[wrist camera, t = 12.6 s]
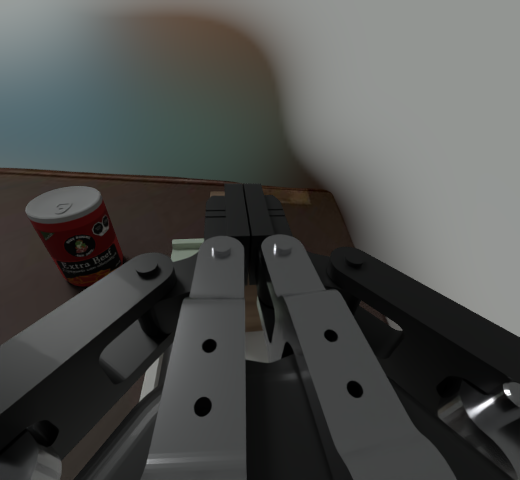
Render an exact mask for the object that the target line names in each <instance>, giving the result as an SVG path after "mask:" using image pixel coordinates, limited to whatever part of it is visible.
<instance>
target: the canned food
mask: <svg viewBox="0 0 520 480" xmlns="http://www.w3.org/2000/svg"><path fill="white" fill-rule="evenodd" d="M26 213H27V215H28V218H29V219H30V221H31V223H32V225H33V227H34V228H35V230H36V232H37V233H38V235H39V237H40V238H41V240H42V242H43V243H44V245H45V247H46V248H47V250H48V252H49V253H50V255H51V257H52V258H53V260H54V262H55V263H56V265H57V267H58V269H59V270H60V272H61V274H62V275H63V277H64V278H65V279H66V280H67V281H68V282H70V283H71V284H73V285H76V286H91V285H93V284H94V283H96V282H98V281H99V280H101V279H102V278H104V277H105V276H107V275H108V274H110V273H111V272H113V271H114V270H116V269H117V268H119V267H120V266H122V264H123V254H122V251H121V248H120V246H119V243H118V240H117V237H116V234H115V232H114V229H113V226H112V223H111V220H110V218H109V215H108V212H107V209H106V206H105V204H104V201H103V199H102V196H101V195H100V192H99V191H98V190H96V189H94V188H91V187H85V186H72V187H65V188H59V189H55V190H52V191H49V192H46V193H44V194H42V195H40V196H38V197H36V198H35V199H33V200H32V201H30V202H29V203H28V205H27V206H26Z"/></svg>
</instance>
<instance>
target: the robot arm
mask: <svg viewBox="0 0 520 480" xmlns="http://www.w3.org/2000/svg"><path fill="white" fill-rule="evenodd" d="M205 217H206V218H205V231H204V242H203V243H202V244H201V246H200V248H199V251H198V252H197V253H196V254H194V255H193V256H191V257H188V258H186V259H182V260H179V261H175V262H173V261H172V260H171V259H170V258H169V257H168V256H167V255H164V254H161V253H146V254H142V255H139V256H136V257H134V258H132V259H131V260H129V261H128V262H126V263H125V264H123V265H122V266H120V267H119V268H117V269H116V270H114V271H113V272H111V273H110V274H108V275H107V276H105V277H104V278H102V279H101V280H99V281H98V282H96V283H94V284H93V285H91V286H90V287H88V288H87V289H85V290H84V291H82V292H81V293H79V294H78V295H76V296H75V297H73V298H72V299H70V300H69V301H67V302H66V303H64V304H63V305H61V306H60V307H58V308H57V309H55V310H54V311H52V312H51V313H49V314H48V315H46V316H45V317H43V318H42V319H40V320H39V321H37V322H36V323H34V324H33V325H31V326H30V327H28V328H27V329H25V330H24V331H22V332H20V333H19V334H17V335H16V336H14V337H13V338H11V339H10V340H8V341H7V342H5V343H4V344H2V345H1V346H0V480H60V476H61V469H62V466H61V460H62V459H63V458H64V457H65V456H66V455H67V454H68V453H69V452H70V451H71V450H72V449H73V448H74V447H75V446H76V445H77V444H78V443H79V441H80V440H81V439H82V438H83V437H84V436H85V435H86V434H87V433H88V432H89V431H90V430H91V429H92V428H93V427H94V426H95V425H96V423H97V422H98V421H99V420H100V419H101V418H102V417H103V416H104V415H105V414H106V413H107V412H108V411H109V410H110V409H111V408H112V407H113V405H114V404H115V403H116V402H117V401H118V400H119V399H120V398H121V397H122V396H123V395H124V394H125V393H126V392H127V391H128V390H129V389H130V387H131V386H132V385H133V384H134V383H135V382H136V381H137V380H138V379H139V378H140V377H141V376H142V375H143V374H144V373H145V372H146V371H147V369H148V368H149V367H150V366H151V365H152V364H153V363H154V362H155V361H156V360H157V359H158V358H159V357H160V356H161V355H162V354H163V353H164V351H165V350H166V349H167V348H168V347H169V346H170V345H171V344H172V343H173V346H172V351H171V355H170V360H169V364H168V369H167V373H166V378H165V382H163V383H162V384H160V385H159V386H157V387H156V388H154V389H153V390H152V391H151V392H149V393H148V394H147V395H146V396H145V397H144V398H143V399H142V400H141V401H140V402H139V403H138V404H137V405H136V406H135V407H134V408H133V409H132V410H131V411H130V413H129V414H128V415H127V416H126V417H125V419H124V420H123V421H122V422H121V423H120V425H119V426H118V427H117V428H116V429H115V431H114V432H113V433H112V434H111V435H110V437H109V438H108V439H107V440H106V441H105V443H104V444H103V445H102V446H101V447H100V449H99V450H98V451H97V452H96V453H95V454H94V456H93V457H92V458H91V459H90V460H89V462H88V463H87V464H86V465H85V466H84V468H83V469H82V470H81V471H80V472H79V474H78V475H77V476H76V477H75V478H74V480H520V337H518V336H516V335H514V334H513V333H511V332H509V331H507V330H505V329H504V328H502V327H500V326H498V325H496V324H494V323H492V322H491V321H489V320H487V319H485V318H483V317H482V316H480V315H478V314H476V313H474V312H472V311H470V310H469V309H467V308H465V307H463V306H462V305H460V304H458V303H456V302H454V301H453V300H451V299H449V298H447V297H445V296H443V295H442V294H440V293H438V292H436V291H434V290H432V289H431V288H429V287H427V286H425V285H423V284H421V283H420V282H418V281H416V280H414V279H412V278H411V277H409V276H407V275H405V274H403V273H402V272H400V271H398V270H396V269H394V268H392V267H391V266H389V265H387V264H385V263H383V262H381V261H380V260H378V259H376V258H374V257H372V256H371V255H369V254H367V253H365V252H363V251H361V250H359V249H356V248H352V247H340V248H337V249H335V250H334V251H333V252H332V253H331V256H330V257H328V256H323V255H318V254H314V253H310V252H308V251H306V250H305V248H304V246H303V245H302V243H301V242H300V241H299V240H297V239H296V238H294V237H293V236H292V234H291V231H290V228H289V225H288V222H287V220H286V217H285V214H284V211H283V208H282V206H281V203H280V201H279V200H278V199H277V198H275V197H274V196H273V195H264V194H263V190H262V187H261V184H243V187H242V184H225V196H211V197H210V199H209V200H208V201H207V202H206V216H205ZM248 279H249V285H256V287H257V300H256V302H257V307H258V312H259V316H260V320H261V325H262V329H263V333H264V337H265V342H266V346H267V351H268V363H264V362H258V361H252V360H246V359H245V298H244V289H245V285H248ZM361 300H362V301H363V302H365V303H366V304H368V305H369V306H371V307H372V308H374V309H375V310H377V311H379V312H380V313H382V314H383V315H385V316H386V317H388V318H389V319H391V320H392V321H394V322H395V323H397V324H398V325H399V326H400V327H401V328H402V330H403V331H398V330H395V329H393V328H391V327H390V326H389V325H387V324H386V323H384V322H383V321H381V320H380V319H378V318H377V317H375V316H374V315H372V314H371V313H369V312H368V311H366V310H365V309H363V308H362V307H360V306H359V304H360V302H361Z"/></svg>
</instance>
